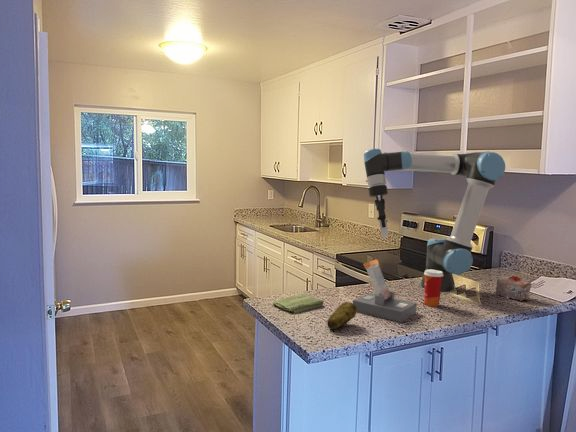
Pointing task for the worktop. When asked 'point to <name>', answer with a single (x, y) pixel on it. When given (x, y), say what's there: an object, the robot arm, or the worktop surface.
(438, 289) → the paper cup
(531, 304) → the worktop surface
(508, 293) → the food item
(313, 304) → the washcloth
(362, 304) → the switch block
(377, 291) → the lever
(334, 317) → the potato
